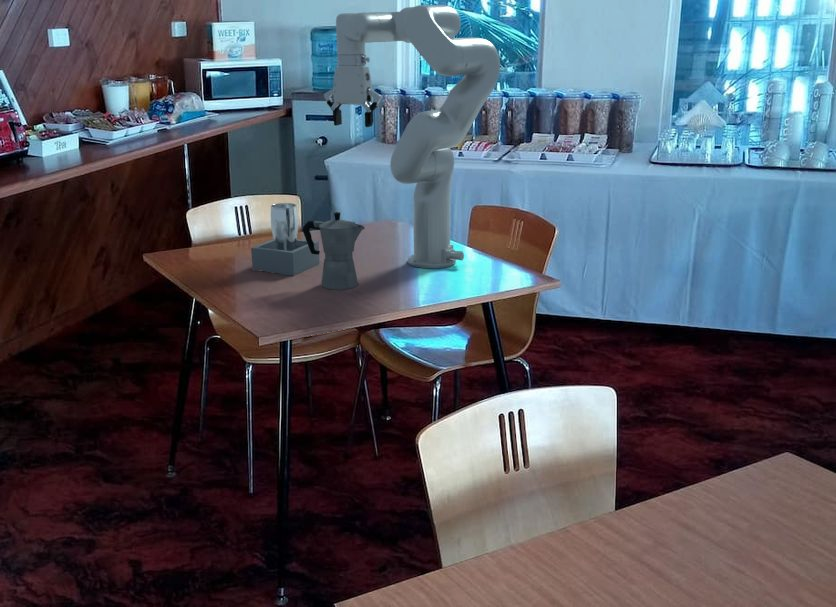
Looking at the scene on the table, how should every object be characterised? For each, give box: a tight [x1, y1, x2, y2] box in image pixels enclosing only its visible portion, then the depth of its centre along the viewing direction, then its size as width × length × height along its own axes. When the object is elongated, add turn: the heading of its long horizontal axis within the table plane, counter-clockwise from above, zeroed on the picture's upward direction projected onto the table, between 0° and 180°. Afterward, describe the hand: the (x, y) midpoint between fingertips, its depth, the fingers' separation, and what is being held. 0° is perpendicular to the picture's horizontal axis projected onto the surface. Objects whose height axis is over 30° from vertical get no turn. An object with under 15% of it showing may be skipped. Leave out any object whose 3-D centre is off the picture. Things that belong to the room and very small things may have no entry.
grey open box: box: [250, 238, 320, 277], centre depth 237 cm, size 12×12×6 cm
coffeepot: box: [302, 211, 365, 291], centre depth 220 cm, size 15×9×18 cm, turn 78°
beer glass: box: [270, 202, 299, 251], centre depth 236 cm, size 7×7×15 cm
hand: (353, 125), depth 251 cm, fingers open, 9 cm apart
